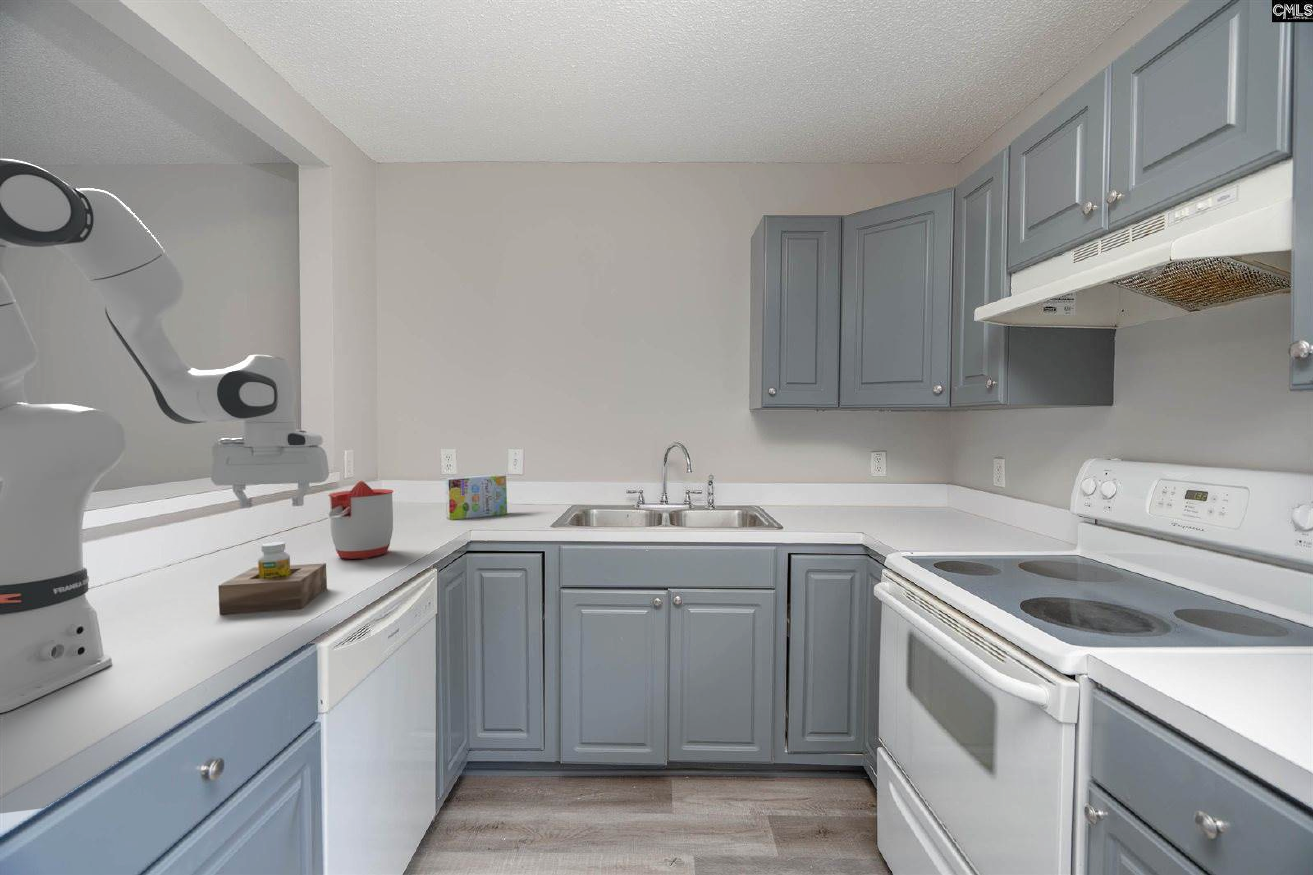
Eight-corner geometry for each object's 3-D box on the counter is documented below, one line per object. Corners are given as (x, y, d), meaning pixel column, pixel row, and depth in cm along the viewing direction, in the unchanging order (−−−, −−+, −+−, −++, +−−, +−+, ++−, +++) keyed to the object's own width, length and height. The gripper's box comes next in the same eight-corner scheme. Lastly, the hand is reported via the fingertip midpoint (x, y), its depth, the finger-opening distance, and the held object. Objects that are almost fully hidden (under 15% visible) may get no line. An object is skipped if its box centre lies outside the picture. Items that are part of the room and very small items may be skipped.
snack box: (503, 512, 229) (502, 474, 229) (507, 514, 224) (506, 475, 224) (446, 518, 218) (445, 477, 218) (449, 520, 213) (448, 478, 213)
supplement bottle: (290, 585, 123) (288, 539, 123) (292, 591, 119) (290, 544, 118) (259, 590, 120) (257, 543, 120) (259, 596, 116) (257, 547, 115)
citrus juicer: (310, 562, 152) (307, 484, 152) (361, 547, 169) (358, 477, 168) (361, 565, 148) (358, 485, 148) (407, 550, 165) (405, 478, 164)
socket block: (301, 608, 114) (300, 580, 114) (219, 614, 111) (218, 585, 111) (326, 588, 128) (326, 563, 127) (254, 593, 125) (253, 567, 125)
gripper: (203, 438, 113) (204, 510, 113) (319, 437, 117) (321, 506, 117) (220, 438, 119) (222, 506, 120) (330, 436, 123) (332, 503, 124)
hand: (272, 506), depth 119 cm, fingers open, 8 cm apart
